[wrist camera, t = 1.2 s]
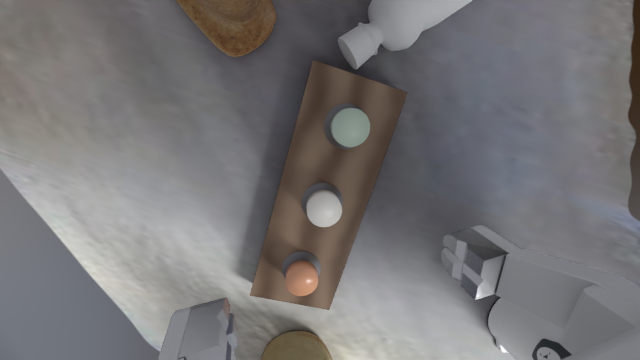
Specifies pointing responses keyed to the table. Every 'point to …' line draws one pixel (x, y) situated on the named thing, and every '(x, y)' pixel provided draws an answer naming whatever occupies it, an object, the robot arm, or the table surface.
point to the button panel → (325, 182)
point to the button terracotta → (301, 278)
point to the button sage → (350, 127)
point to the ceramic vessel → (296, 347)
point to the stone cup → (232, 22)
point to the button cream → (323, 208)
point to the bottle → (394, 26)
